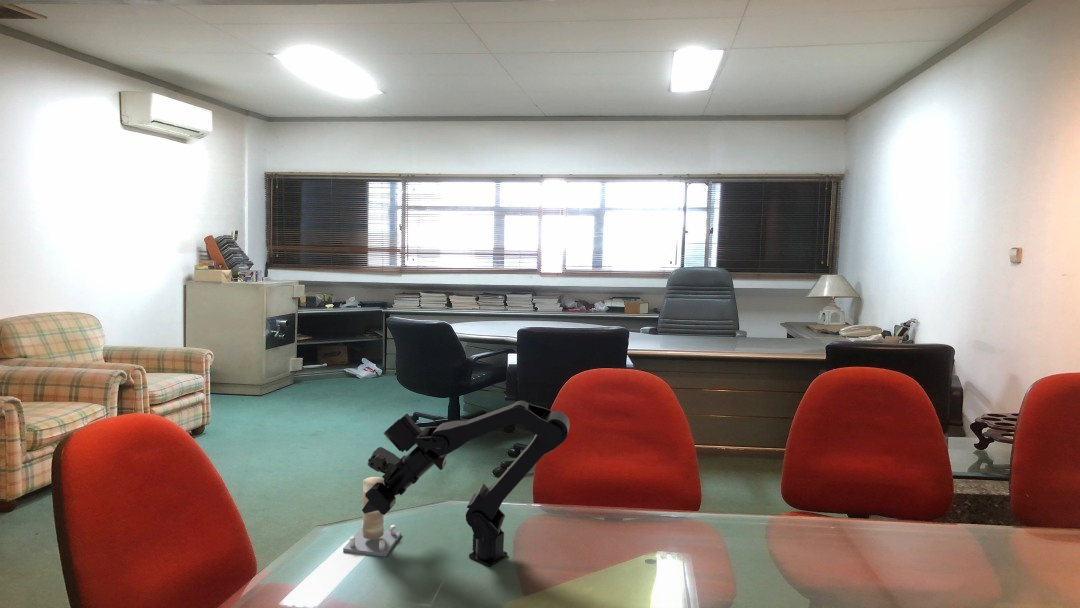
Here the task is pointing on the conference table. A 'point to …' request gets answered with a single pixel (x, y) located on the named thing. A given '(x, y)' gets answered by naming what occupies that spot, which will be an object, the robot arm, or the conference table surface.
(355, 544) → the peg plate
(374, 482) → the birch post
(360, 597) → the conference table surface
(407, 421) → the robot arm
